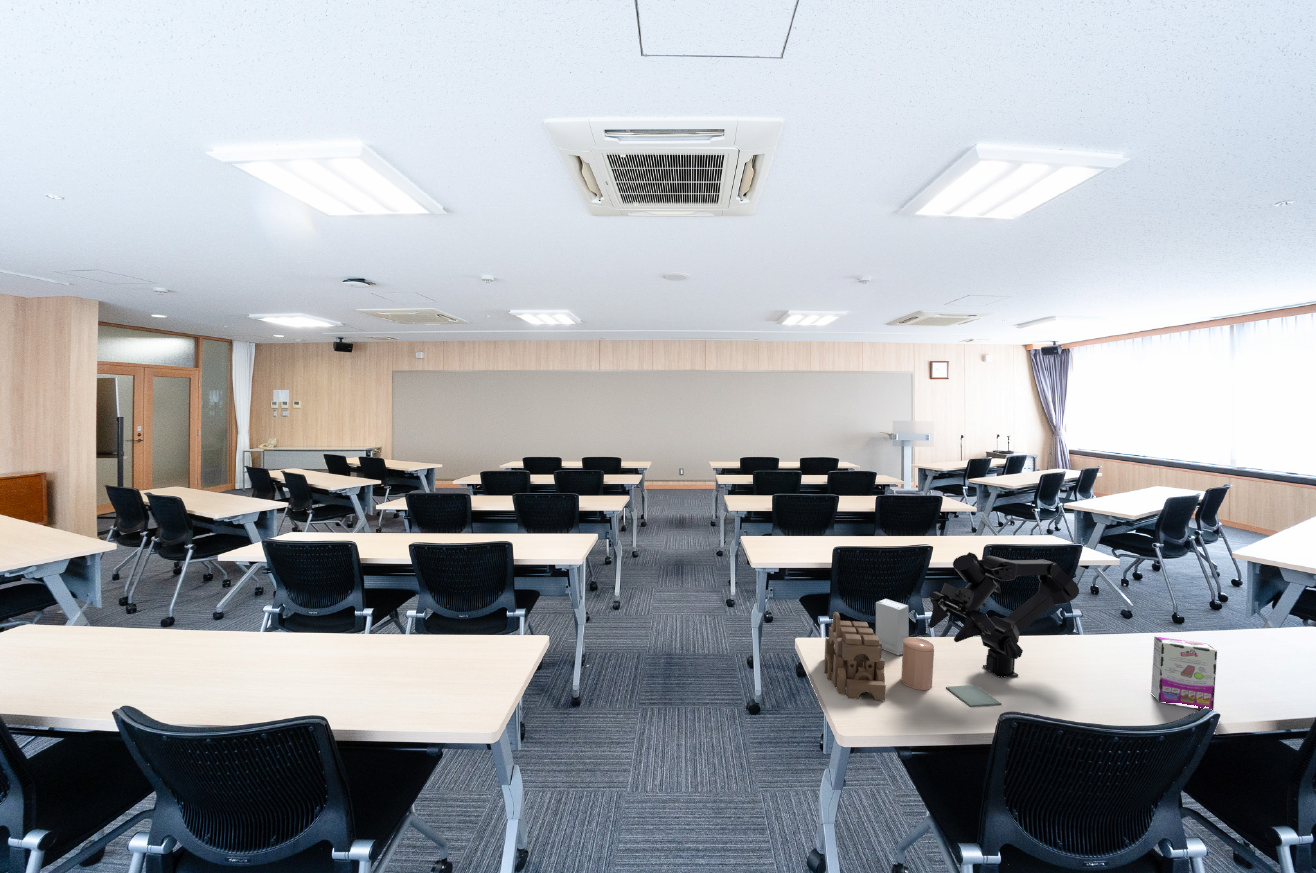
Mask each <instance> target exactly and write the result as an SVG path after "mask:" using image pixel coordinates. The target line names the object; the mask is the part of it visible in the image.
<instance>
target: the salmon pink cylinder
mask: <svg viewBox="0 0 1316 873" xmlns="http://www.w3.org/2000/svg"><path fill="white" fill-rule="evenodd" d="M934 656H935V645H934V644H933V643H932V642H930V641H928V640H926V639H924V638H920V637H913V636H912V637H909V638H905V639H904V642H903V654H902V659H901V662H902V663H901V676H900V678H901V682H902V683H903V684H904V685H905V686H906V687H909V688H912V689H913V690H919V691H929V690H931V689H932V688H933V675H934V660H935V659H934Z"/></svg>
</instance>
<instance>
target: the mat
mask: <svg viewBox="0 0 1316 873" xmlns="http://www.w3.org/2000/svg"><path fill="white" fill-rule="evenodd" d="M945 688H946V689H947V690H948V691H949V692H951V693H952V694H953V695H954V696H955V697H957V698H958V699H960V700H961V701H963V703H965V704H966V705H967V706H968V707H970V708H972V707H974V708H975V707H988V706H1001V705H1002V702H1001V701H999V700H998V699H996V698H995V697H993V696H992V695H991V694H989V693H988V692H987V691H985V690H984V689H982V688H981V687H979V686H978V685H976V684H969V685H968V684H967V685H955V686H954V685H951V686H949V685H948V686H945Z"/></svg>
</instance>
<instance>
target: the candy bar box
mask: <svg viewBox="0 0 1316 873" xmlns="http://www.w3.org/2000/svg"><path fill="white" fill-rule="evenodd" d="M1153 638H1154V639H1153V652H1152V653H1153V655H1152V671H1151V672H1152V674H1151V688H1150V689H1151V690H1150V694H1151V693H1152V694H1153V695H1154V696H1155V698H1154V699H1155V700H1156V699H1157V700H1158V701H1159V702H1158V701H1157V700H1156V701H1157V702H1158V703H1160V702H1166V703H1182V704H1187V705H1194V706H1195V705H1196V706H1198V709H1197V710H1199V709H1203V708H1204V707H1205V706H1206V707H1209V709H1212V710H1213V711H1214V707H1215V706H1214V705H1215V689H1216V674H1217V659H1218V650H1217V649H1215V648H1214V647H1213V646H1211V645H1210V644H1208V643H1205V642H1197V641H1191V640H1185V639H1183V640H1182V639H1177V638H1176V639H1175V638H1169V637H1161V636H1154V637H1153ZM1152 694H1151V695H1152ZM1200 707H1201V708H1200Z"/></svg>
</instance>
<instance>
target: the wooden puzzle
mask: <svg viewBox="0 0 1316 873" xmlns="http://www.w3.org/2000/svg"><path fill="white" fill-rule="evenodd" d="M832 614H833V615H832V623H831V625H830V626H829V628H828V637H825V640H824V641H825V642H824V662H823V663H824V665H823V666H824V668H823V673H824V674H827V680H828V681H831V683H832V685H833V687H834V688H836V691H837V693H838V694H839V695H846V697H847V699H853V700H859V696H861V694H865V693H867V694H868V696H872V698H873V699H874V700H875V701H883V702H884V701H886V689H887V688H886V686H887V685H886V684H885V683H886V677H885V663H886V662H885V660H884V658H883V657H882V652H883V649H882V643H881V642H880V641H879V638H878V636H876V633H874V630H873V629H872V628H870V627H869V624H868V622H866V621H855V620H853V621H850V620H841V616H840V614H839V612H838V611H833V613H832Z"/></svg>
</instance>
